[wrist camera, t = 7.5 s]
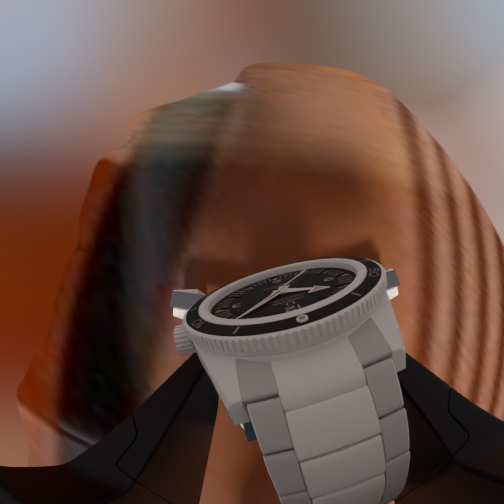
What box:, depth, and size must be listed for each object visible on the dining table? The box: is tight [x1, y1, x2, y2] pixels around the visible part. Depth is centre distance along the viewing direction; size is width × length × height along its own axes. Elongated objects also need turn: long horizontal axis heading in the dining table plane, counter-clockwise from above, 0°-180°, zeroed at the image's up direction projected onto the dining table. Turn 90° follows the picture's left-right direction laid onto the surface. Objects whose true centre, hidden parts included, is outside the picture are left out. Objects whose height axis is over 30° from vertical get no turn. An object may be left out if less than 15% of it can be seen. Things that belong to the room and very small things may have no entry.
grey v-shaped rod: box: [173, 269, 398, 319], centre depth 20 cm, size 17×3×2 cm, turn 93°
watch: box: [174, 257, 410, 504], centre depth 8 cm, size 6×8×11 cm
